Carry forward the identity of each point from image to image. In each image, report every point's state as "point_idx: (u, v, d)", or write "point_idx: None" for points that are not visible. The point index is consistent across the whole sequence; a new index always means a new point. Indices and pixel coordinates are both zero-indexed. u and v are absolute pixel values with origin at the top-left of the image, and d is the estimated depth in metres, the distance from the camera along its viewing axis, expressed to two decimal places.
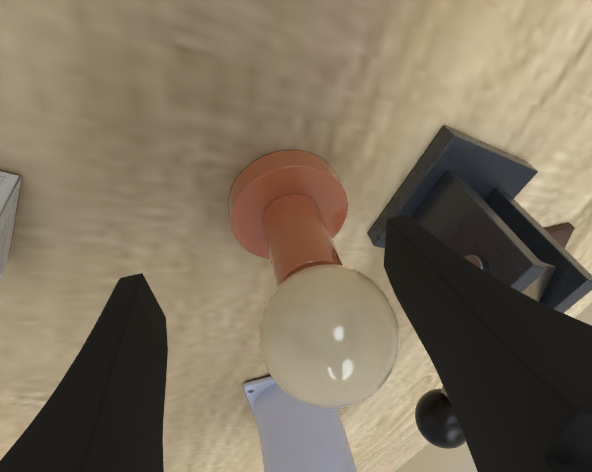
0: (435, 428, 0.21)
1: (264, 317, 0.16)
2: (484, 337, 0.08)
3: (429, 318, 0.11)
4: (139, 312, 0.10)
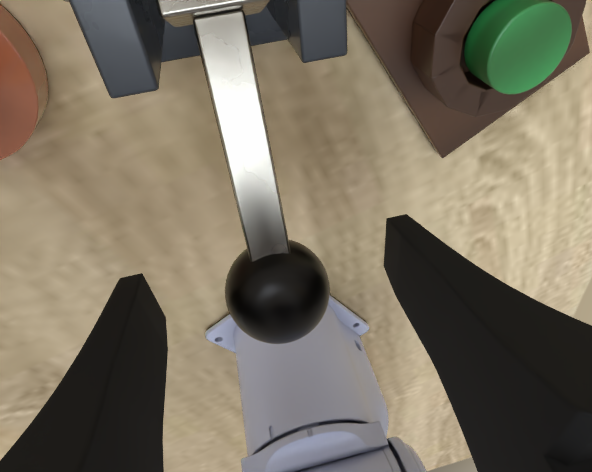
0: (234, 316, 0.11)
1: None
2: (484, 337, 0.08)
3: (429, 318, 0.11)
4: (139, 312, 0.10)
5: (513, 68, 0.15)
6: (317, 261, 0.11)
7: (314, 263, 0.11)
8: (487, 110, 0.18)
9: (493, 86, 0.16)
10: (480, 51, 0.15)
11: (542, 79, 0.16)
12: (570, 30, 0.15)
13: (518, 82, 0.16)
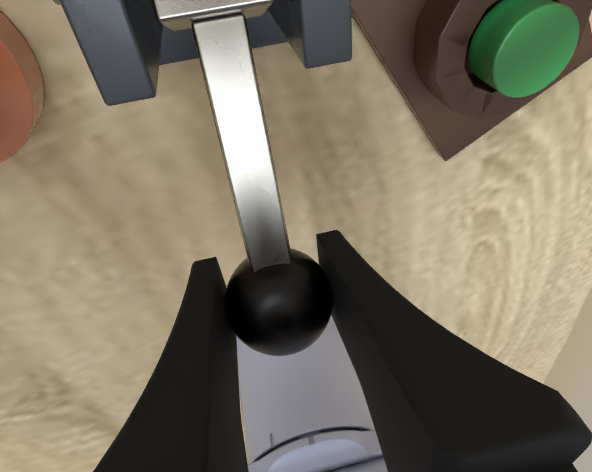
0: (235, 328, 0.11)
1: None
2: (382, 363, 0.08)
3: (351, 337, 0.10)
4: (219, 293, 0.11)
5: (519, 71, 0.15)
6: (320, 271, 0.11)
7: (317, 273, 0.11)
8: (492, 113, 0.17)
9: (499, 89, 0.15)
10: (485, 54, 0.15)
11: (548, 82, 0.15)
12: (578, 32, 0.14)
13: (524, 85, 0.15)
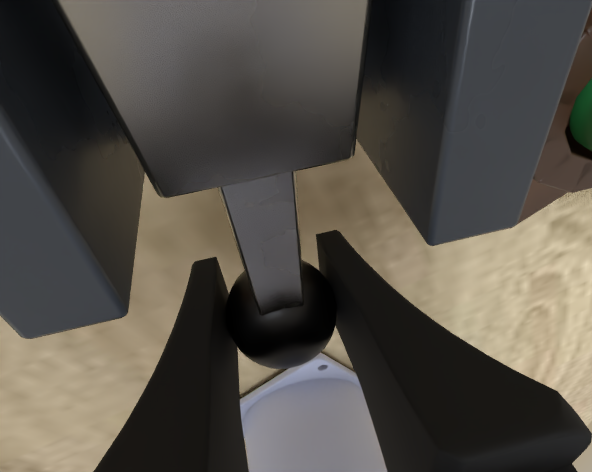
0: (240, 349, 0.11)
1: None
2: (382, 363, 0.08)
3: (351, 337, 0.10)
4: (219, 293, 0.11)
5: None
6: (329, 299, 0.10)
7: (327, 306, 0.10)
8: (588, 184, 0.13)
9: None
10: None
11: None
12: None
13: None
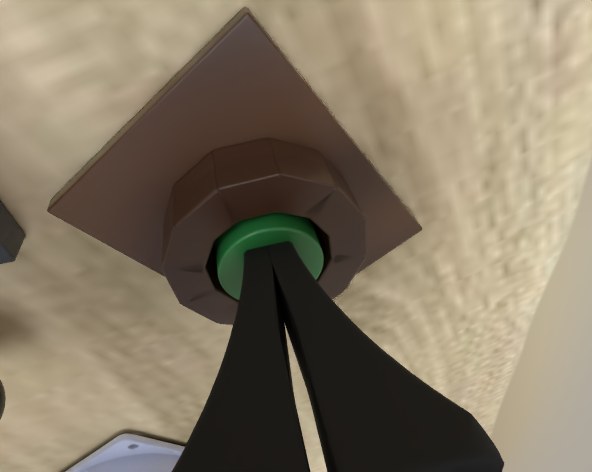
0: None
1: None
2: (311, 382, 0.08)
3: (297, 351, 0.10)
4: (275, 280, 0.11)
5: None
6: None
7: None
8: None
9: None
10: None
11: None
12: (317, 247, 0.12)
13: None
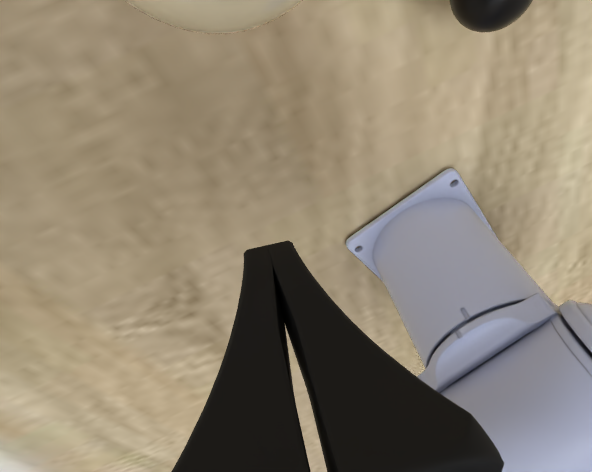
0: (467, 7, 0.15)
1: None
2: (311, 382, 0.08)
3: (297, 351, 0.10)
4: (275, 280, 0.11)
5: None
6: None
7: None
8: None
9: None
10: None
11: None
12: None
13: None
